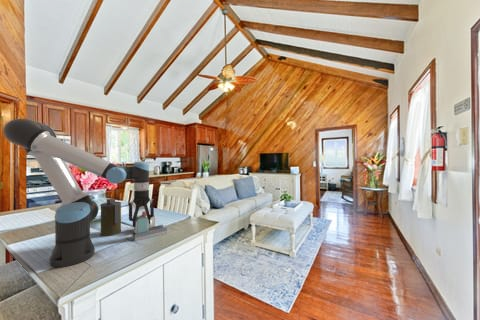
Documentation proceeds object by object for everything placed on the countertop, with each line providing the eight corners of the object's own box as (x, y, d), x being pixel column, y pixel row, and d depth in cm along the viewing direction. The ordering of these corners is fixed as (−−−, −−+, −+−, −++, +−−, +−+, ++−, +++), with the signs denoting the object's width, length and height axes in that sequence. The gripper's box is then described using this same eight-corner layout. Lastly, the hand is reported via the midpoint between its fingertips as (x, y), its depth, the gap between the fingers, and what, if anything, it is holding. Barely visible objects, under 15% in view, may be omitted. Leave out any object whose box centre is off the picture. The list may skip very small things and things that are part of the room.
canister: (96, 234, 114) (96, 199, 114) (115, 228, 123) (114, 196, 123) (107, 237, 109) (107, 201, 109) (125, 231, 118) (125, 198, 118)
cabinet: (139, 233, 115) (139, 218, 115) (135, 229, 122) (135, 214, 122) (155, 229, 121) (155, 215, 121) (151, 226, 128) (151, 212, 128)
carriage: (137, 236, 107) (137, 218, 107) (135, 233, 110) (135, 216, 110) (147, 234, 110) (147, 216, 110) (145, 231, 114) (145, 215, 114)
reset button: (143, 219, 119) (143, 212, 119) (141, 218, 122) (141, 211, 122) (149, 218, 122) (149, 211, 122) (147, 217, 124) (147, 210, 124)
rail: (134, 240, 105) (134, 234, 105) (131, 236, 110) (131, 231, 110) (166, 233, 116) (166, 227, 116) (162, 229, 121) (162, 224, 121)
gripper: (124, 192, 101) (124, 237, 102) (160, 189, 113) (160, 229, 113) (121, 190, 107) (121, 233, 107) (156, 187, 119) (156, 225, 119)
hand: (141, 231), depth 110 cm, fingers closed on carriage, 5 cm apart
